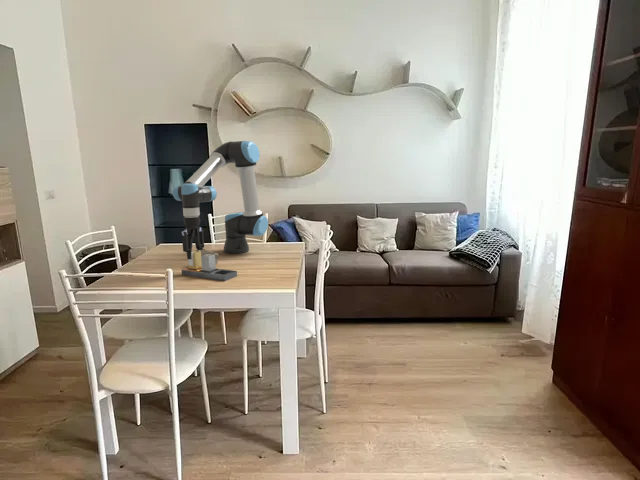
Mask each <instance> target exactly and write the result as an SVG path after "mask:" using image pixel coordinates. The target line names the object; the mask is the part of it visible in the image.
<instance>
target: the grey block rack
mask: <svg viewBox="0 0 640 480" xmlns="http://www.w3.org/2000/svg"><path fill="white" fill-rule="evenodd" d="M181 275H182V276H186V275H187V277H193V276H194V278H200V277H201V278H202V279H207V278H208V280H215V281H222V282H226V281H229V280H231V279H233V278H237V277H238V270H232V269H230V270H229V269H225V268H216V271H213V272H211V273H207V272H202V269H200V270H197V271H195V270H188V267H185V268H183V269H181Z"/></svg>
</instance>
